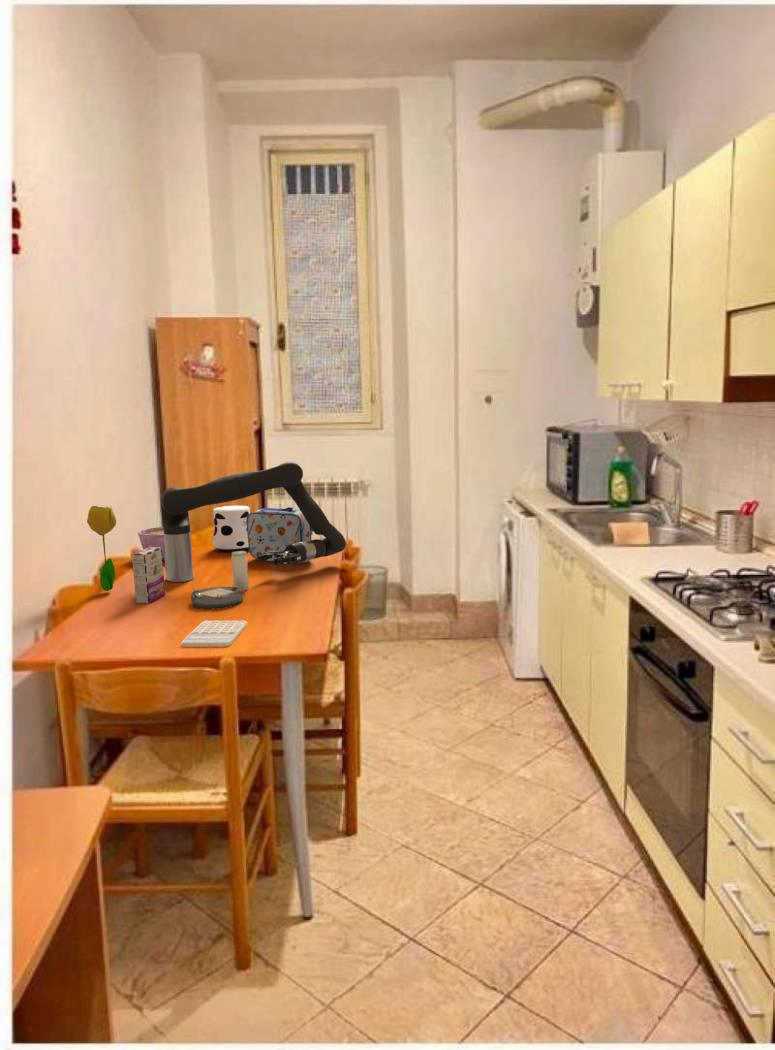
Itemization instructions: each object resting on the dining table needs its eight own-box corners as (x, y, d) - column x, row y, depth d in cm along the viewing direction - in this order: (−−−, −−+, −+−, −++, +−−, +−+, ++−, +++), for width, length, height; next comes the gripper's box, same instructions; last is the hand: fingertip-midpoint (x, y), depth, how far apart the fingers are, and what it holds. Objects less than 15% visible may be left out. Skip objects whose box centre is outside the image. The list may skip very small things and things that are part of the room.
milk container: (262, 548, 329) (260, 507, 326) (228, 555, 317) (226, 512, 314) (238, 544, 341) (236, 504, 338) (205, 550, 329) (202, 509, 326)
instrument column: (230, 589, 259) (228, 552, 257) (242, 586, 263) (240, 550, 261) (239, 592, 256) (237, 554, 254) (251, 589, 260) (249, 552, 257)
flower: (111, 596, 255) (104, 507, 250) (90, 595, 256) (81, 507, 251) (125, 589, 263) (118, 503, 258) (104, 589, 265) (96, 503, 260)
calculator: (248, 625, 219) (248, 619, 219) (229, 648, 200) (229, 641, 199) (203, 626, 220) (202, 619, 220) (180, 648, 201) (179, 641, 200)
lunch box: (318, 560, 303) (316, 505, 300) (306, 565, 294) (303, 509, 290) (259, 556, 314) (256, 503, 310) (245, 561, 304) (242, 506, 301)
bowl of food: (129, 560, 312) (127, 532, 310) (168, 551, 328) (166, 525, 326) (161, 565, 301) (159, 536, 299) (200, 556, 317) (198, 528, 315)
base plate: (181, 603, 243) (180, 590, 242) (222, 593, 255) (221, 580, 254) (211, 612, 233) (210, 598, 232) (252, 600, 244) (252, 587, 244)
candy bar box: (152, 594, 255) (148, 546, 253) (165, 595, 254) (162, 546, 252) (134, 603, 245) (130, 553, 242) (149, 604, 244) (145, 553, 241)
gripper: (287, 540, 282) (252, 548, 270) (313, 544, 273) (278, 552, 261) (288, 560, 284) (253, 568, 272) (314, 564, 274) (280, 573, 262)
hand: (266, 560), depth 266 cm, fingers open, 8 cm apart
